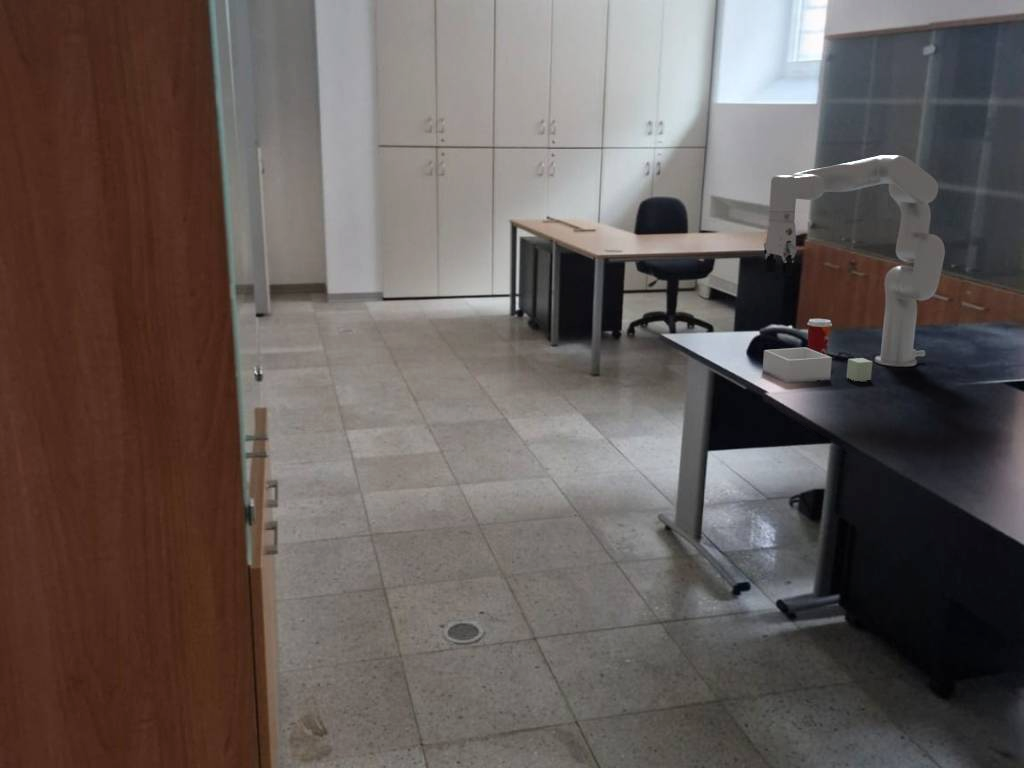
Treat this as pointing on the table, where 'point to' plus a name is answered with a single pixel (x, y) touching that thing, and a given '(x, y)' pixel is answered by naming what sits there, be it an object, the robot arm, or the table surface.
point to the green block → (859, 369)
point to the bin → (797, 365)
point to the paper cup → (819, 335)
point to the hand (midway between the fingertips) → (777, 273)
